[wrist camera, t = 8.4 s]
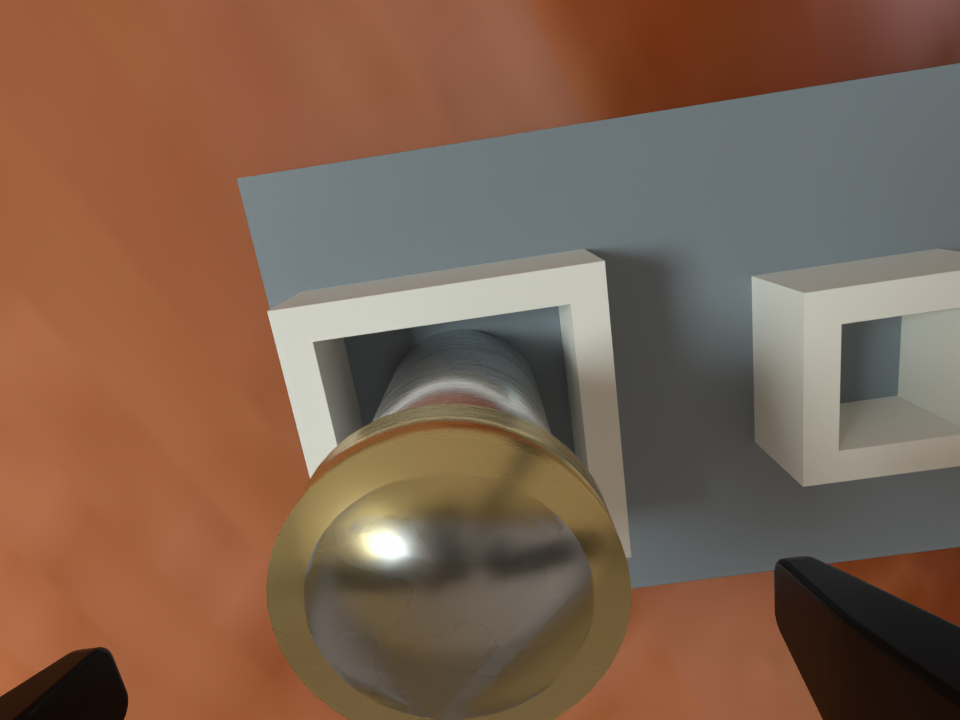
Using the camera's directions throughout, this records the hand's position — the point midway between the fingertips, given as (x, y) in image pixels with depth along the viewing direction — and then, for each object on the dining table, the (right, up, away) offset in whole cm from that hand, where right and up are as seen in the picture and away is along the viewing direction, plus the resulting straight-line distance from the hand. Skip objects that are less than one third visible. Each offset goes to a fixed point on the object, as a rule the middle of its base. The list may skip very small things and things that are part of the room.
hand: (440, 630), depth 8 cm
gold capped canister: (0, +3, +8) cm, 8 cm away
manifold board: (+5, +4, +9) cm, 11 cm away
